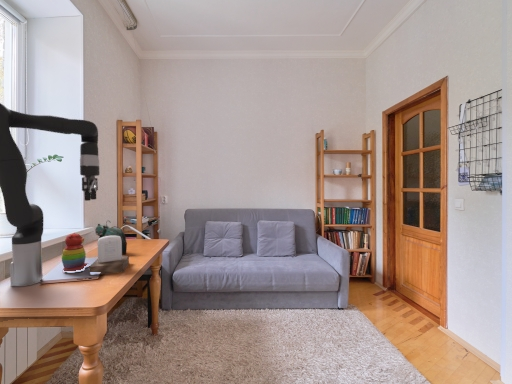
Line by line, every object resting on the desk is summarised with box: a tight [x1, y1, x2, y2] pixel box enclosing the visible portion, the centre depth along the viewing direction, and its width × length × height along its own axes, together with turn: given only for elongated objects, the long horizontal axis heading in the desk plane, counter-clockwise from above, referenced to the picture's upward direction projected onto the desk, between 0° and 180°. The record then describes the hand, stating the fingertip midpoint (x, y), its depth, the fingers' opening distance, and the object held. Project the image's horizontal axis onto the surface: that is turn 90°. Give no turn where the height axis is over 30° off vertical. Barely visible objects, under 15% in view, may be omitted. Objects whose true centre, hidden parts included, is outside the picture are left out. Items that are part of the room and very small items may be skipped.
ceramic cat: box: [94, 220, 128, 256], centre depth 151 cm, size 20×6×20 cm, turn 73°
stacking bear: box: [61, 232, 89, 271], centre depth 122 cm, size 11×10×18 cm
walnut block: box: [88, 255, 130, 275], centre depth 123 cm, size 14×14×4 cm
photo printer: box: [97, 236, 123, 263], centre depth 122 cm, size 10×4×12 cm, turn 121°
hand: (90, 200), depth 118 cm, fingers open, 8 cm apart
